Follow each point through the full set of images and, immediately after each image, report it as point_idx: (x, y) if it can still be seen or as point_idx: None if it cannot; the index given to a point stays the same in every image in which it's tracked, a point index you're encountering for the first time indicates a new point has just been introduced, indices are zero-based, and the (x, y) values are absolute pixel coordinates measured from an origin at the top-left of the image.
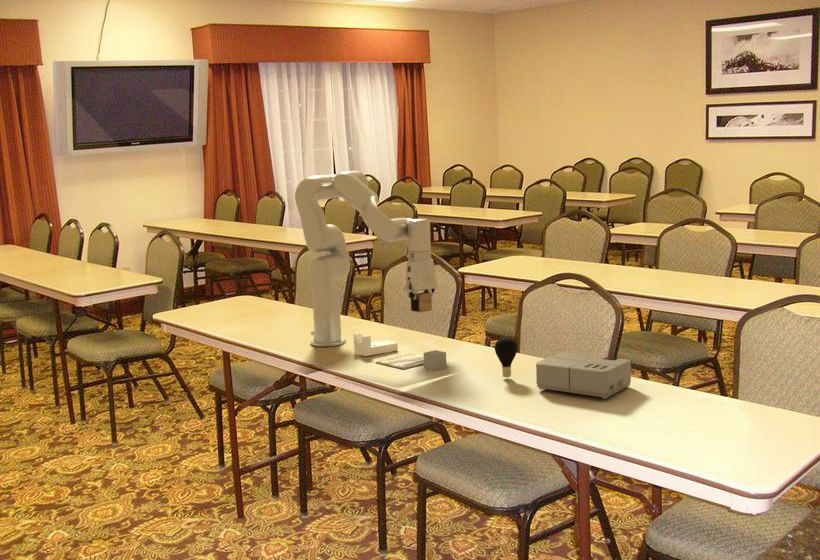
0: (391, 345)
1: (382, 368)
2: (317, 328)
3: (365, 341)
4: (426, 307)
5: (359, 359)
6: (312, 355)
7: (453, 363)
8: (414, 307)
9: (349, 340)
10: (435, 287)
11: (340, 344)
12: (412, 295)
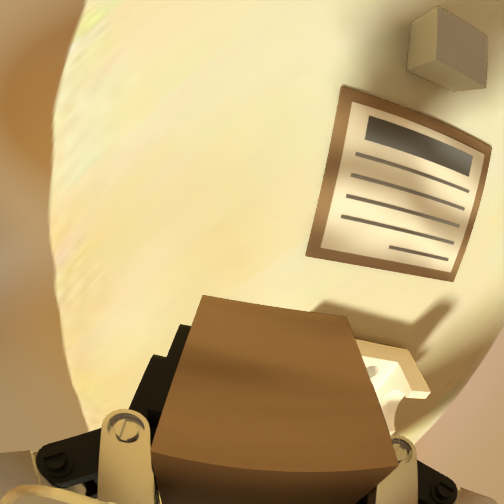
0: None
1: (494, 217)
2: None
3: (421, 379)
4: (273, 330)
5: (422, 345)
6: (402, 432)
7: (349, 24)
8: (372, 384)
9: None
10: (12, 465)
11: None
12: (422, 479)
